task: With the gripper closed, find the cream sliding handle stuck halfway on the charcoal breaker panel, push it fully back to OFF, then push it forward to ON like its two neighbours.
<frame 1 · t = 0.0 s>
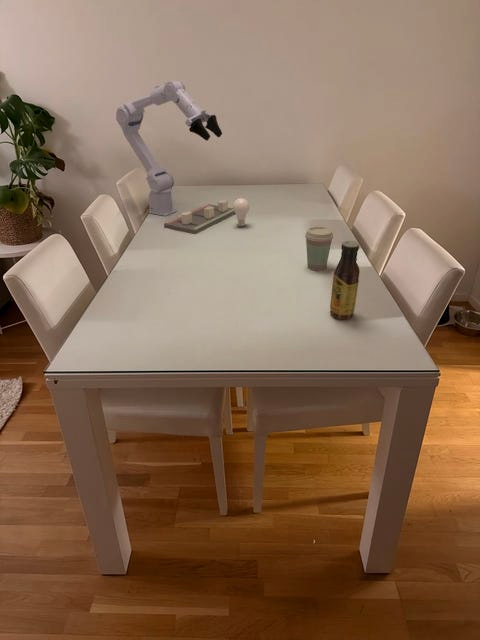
hand: (214, 137, 169), 32 cm above the table, tool tilted 50°, fingers open, 7 cm apart
sauce bottle: (341, 315, 120), on the table
coffee cup: (316, 267, 147), on the table
breaker panel: (202, 219, 189), on the table
lightbulb: (241, 226, 181), on the table
tripped breaker: (186, 218, 180), point 4 cm above the table, slide at 3.5 cm
breaker left: (223, 206, 193), point 4 cm above the table, slide at 7.0 cm
breaker middle: (209, 212, 185), point 4 cm above the table, slide at 7.0 cm
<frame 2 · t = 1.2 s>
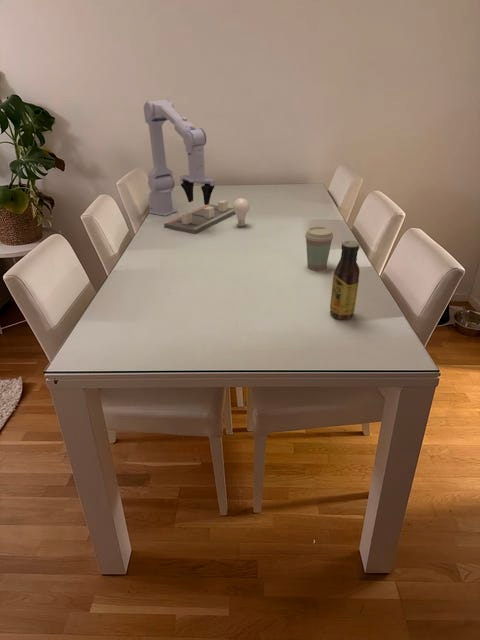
hand: (198, 202, 173), 10 cm above the table, tool pointing down, fingers open, 7 cm apart
nothing on the table moved.
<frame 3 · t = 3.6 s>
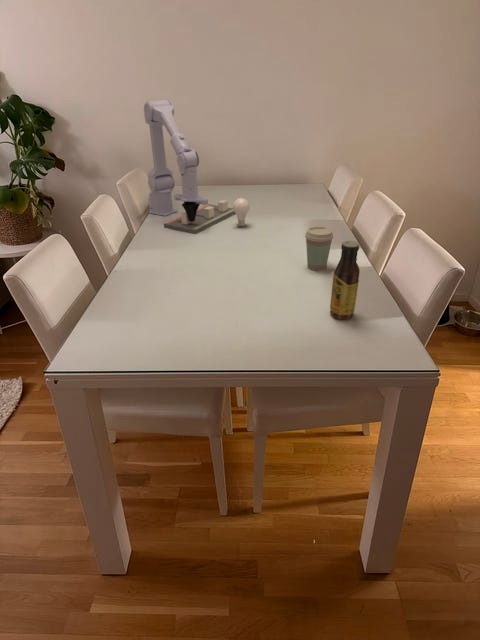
hand: (192, 220, 179), 3 cm above the table, tool pointing down, fingers closed
tripped breaker: (186, 218, 180), point 4 cm above the table, slide at 3.4 cm, touching gripper
everything else where it was.
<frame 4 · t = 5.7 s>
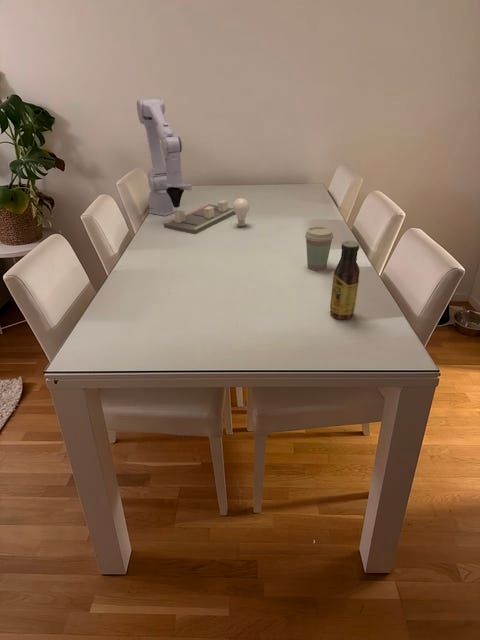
hand: (176, 206, 180), 7 cm above the table, tool pointing down, fingers closed
tripped breaker: (179, 216, 181), point 4 cm above the table, slide at -0.1 cm
everything else where it was.
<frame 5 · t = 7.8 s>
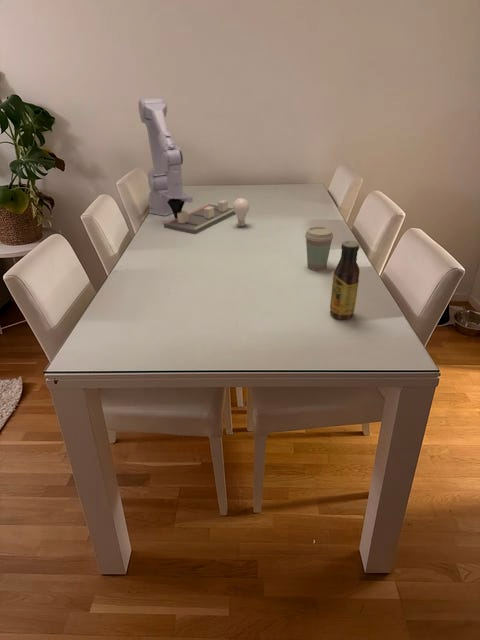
hand: (177, 217, 182), 3 cm above the table, tool pointing down, fingers closed
tripped breaker: (182, 217, 181), point 4 cm above the table, slide at 1.5 cm, touching gripper
everything else where it was.
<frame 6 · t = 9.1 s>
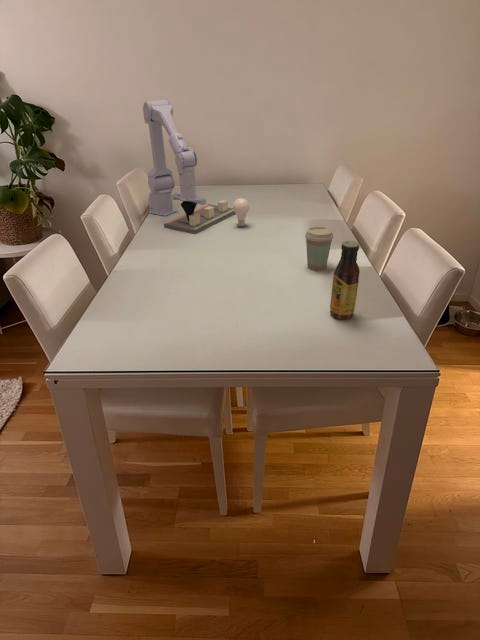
hand: (190, 220, 179), 3 cm above the table, tool pointing down, fingers closed
tripped breaker: (194, 219, 178), point 4 cm above the table, slide at 7.3 cm, touching gripper
everything else where it was.
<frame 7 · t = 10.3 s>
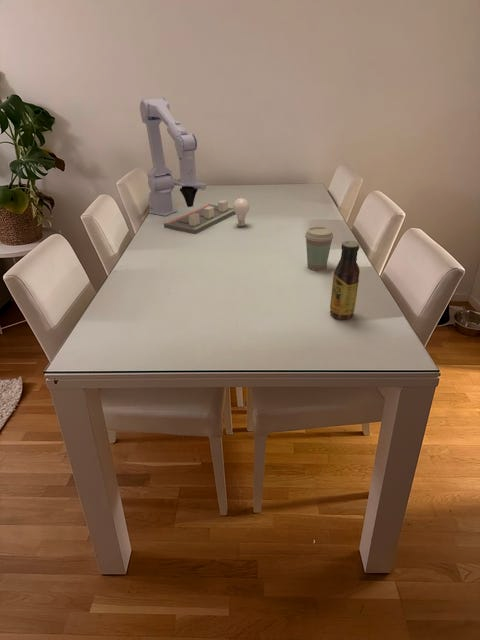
hand: (190, 206, 176), 8 cm above the table, tool pointing down, fingers closed
tripped breaker: (194, 219, 178), point 4 cm above the table, slide at 7.1 cm
everything else where it was.
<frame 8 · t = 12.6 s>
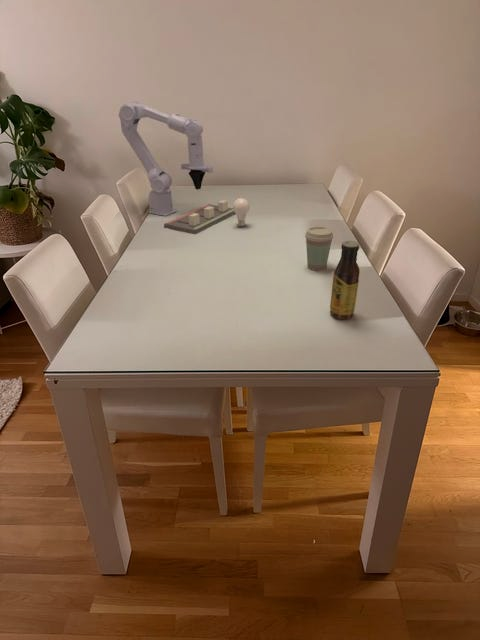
hand: (198, 188, 191), 10 cm above the table, tool pointing down, fingers closed
nothing on the table moved.
at the end: tripped breaker slide at 7.1 cm; breaker middle slide at 7.0 cm; breaker left slide at 7.0 cm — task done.
